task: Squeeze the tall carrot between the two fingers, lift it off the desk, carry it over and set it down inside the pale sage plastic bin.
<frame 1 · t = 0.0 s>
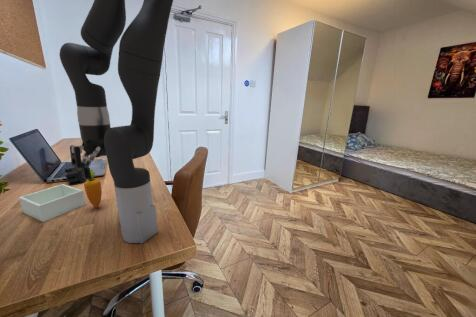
hand: (102, 174, 65), 17 cm above the table, tool pointing down, fingers open, 8 cm apart
creature: (140, 203, 84), on the table
bin: (55, 208, 78), on the table
carrot: (97, 208, 79), on the table
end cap: (77, 181, 103), on the table
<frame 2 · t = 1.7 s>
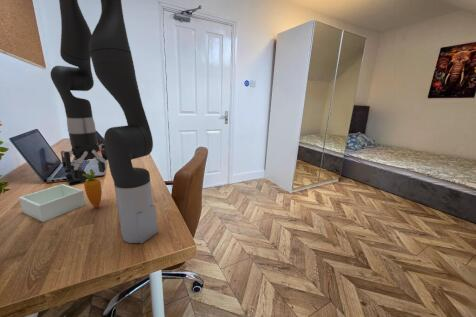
hand: (90, 175, 75), 13 cm above the table, tool pointing down, fingers open, 8 cm apart
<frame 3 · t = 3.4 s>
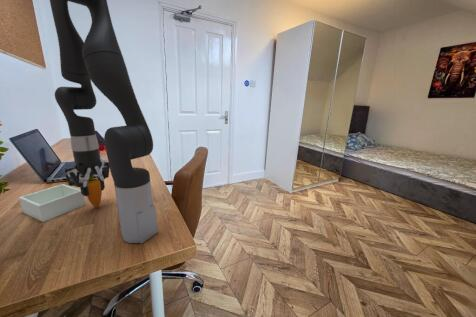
hand: (94, 192, 77), 6 cm above the table, tool pointing down, fingers closed on carrot, 5 cm apart
carrot: (97, 208, 79), on the table, touching gripper
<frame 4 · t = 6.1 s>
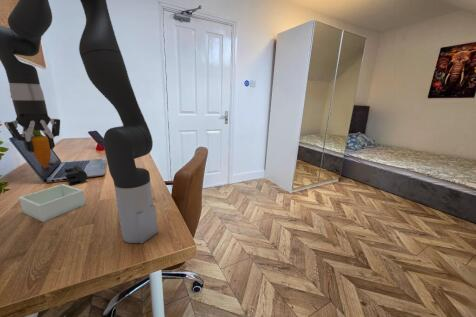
hand: (41, 150, 72), 22 cm above the table, tool pointing down, fingers closed on carrot, 5 cm apart
carrot: (45, 168, 74), point 16 cm above the table, touching gripper
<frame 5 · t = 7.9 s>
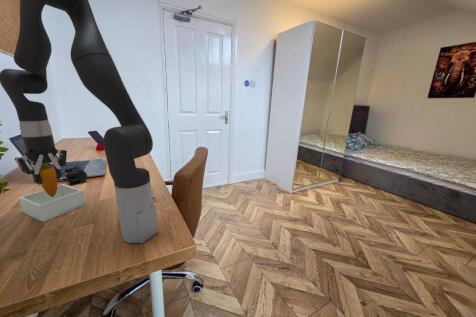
hand: (49, 181, 75), 11 cm above the table, tool pointing down, fingers closed on carrot, 5 cm apart
carrot: (53, 197, 77), point 4 cm above the table, touching gripper
when the fingers open (10 cm above the table, at t = 9.1 s): carrot drops 2 cm, resting on bin.
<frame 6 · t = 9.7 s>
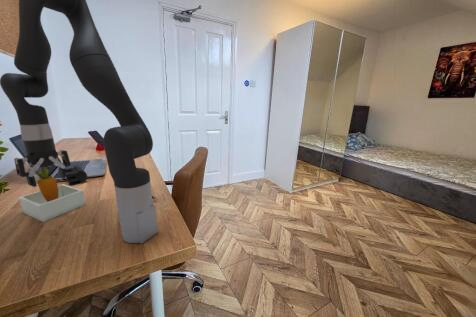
hand: (49, 182, 75), 11 cm above the table, tool pointing down, fingers open, 8 cm apart
carrot: (54, 206, 78), point 1 cm above the table, touching bin
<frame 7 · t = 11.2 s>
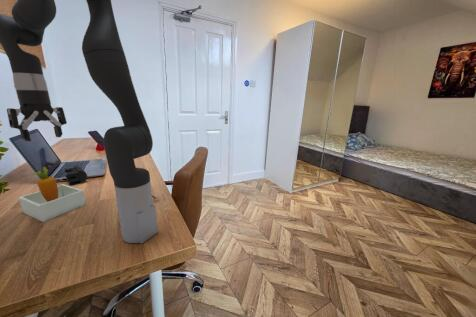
hand: (44, 138, 72), 26 cm above the table, tool pointing down, fingers open, 8 cm apart
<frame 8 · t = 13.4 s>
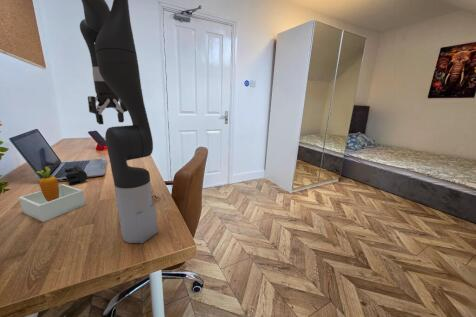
hand: (111, 123, 85), 30 cm above the table, tool pointing down, fingers open, 8 cm apart
at the end: carrot inside the target area on the bin (0.2 cm from its centre), point 0.8 cm above the bin's base; the gripper is holding nothing; carrot moved 14.9 cm from its start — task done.
